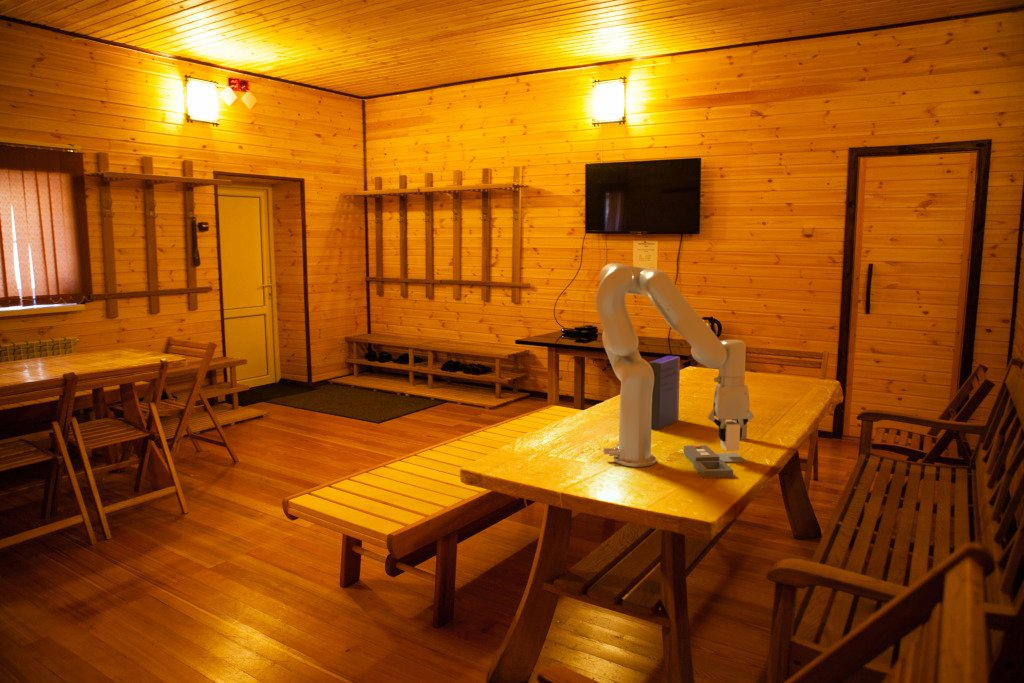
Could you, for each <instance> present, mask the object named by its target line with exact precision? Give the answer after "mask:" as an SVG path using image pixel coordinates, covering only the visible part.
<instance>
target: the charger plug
mask: <svg viewBox="0 0 1024 683" xmlns="http://www.w3.org/2000/svg"><path fill="white" fill-rule="evenodd" d="M724 428H725V430H726V432H725V442H723V441H722V440H720V447H721V448H722V450H725V452H735V451H737V452H739V451H740V446H741V445H740V444H741V441H740V424H738V423H737V422H736V421H731V420H726V421H725V425H724Z"/></svg>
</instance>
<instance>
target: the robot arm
mask: <svg viewBox="0 0 1024 683" xmlns="http://www.w3.org/2000/svg"><path fill="white" fill-rule="evenodd" d="M599 282H600V283H599V285H598V287H597V290H596V294H595V308H596V313H597V316H598V318H599V322H600V324H601V327H602V330H603V331H602V333H601V334H602V335H601V340H602V345H603V347H604V350H605V353H606V354H607V358H608V360H609V363H610V364H611V367H612V371H613V372H614V375H615V376H616V378H617V379H618V380H619V381H620V392H619V406H618V408H619V412H618V413H619V415H618V416H619V418H618V419H619V421H618V426H619V428H618V432H619V433H618V443H617V444H616V446H613V447H604V448H603V449H602V452H603V455H608V456H610V457H613V460H614V462H615V463H616V464H618V465H621V466H626V467H634V468H640V467H649V466H653V465H654V464H656V462H657V458H656V456H655V455H654V454H652V449H651V448H652V429H651V418H652V392H653V385H654V372H653V369H652V367H651V366H650V364H649V363H648V362H649V361H647V360H645V359H644V358H642V355H641V354H640V351H639V348H638V347H639V342H640V341H639V336H638V334H637V331H636V329H635V326H634V325H633V322H632V320H631V319H632V318H630V315H629V311H628V309H627V304H626V296H627V294H630V295H636V296H637V295H638V296H643V297H646V298H648V300H649V301H650V302H651V303H652V305H653V306H654V308H656V310H657V311H658V313H659V314H660V316H661V317H662V318H663V320H664V321H665V323H666V324H667V325H668V326H669V327H670V328H671V329H673V330H674V331H675V332H676V333H677V334H678V335H680V336H681V337H682V338H683V339H684V340H685V341H686V342H687V343H688V344H689V346H690V347H691V349H690V353H691V356H692V358H693V359H694V360H695V361H696V362H697V363H699V364H701V365H703V366H705V367H706V368H709V369H718V375H717V377H714V378H713V381H714V383H717V384H716V385H715V389H714V395H713V401H712V409H711V411H710V412H709V414H707V419H709V420H710V421H711V422H713V423H714V424H715V425H716V426H717V427H718V438H719V440H720V441H721V440H722V441H723V442H725V432H726V430H725V428H724V425H725V421H730V420H732V419H736V422H737V423H738V424H740V442H741V441H742V440H741V437H742V428H743V427H744V425H745V424H746V423H747V424H748V422H749V421H751V420H753V419H755V418H754V417H755V416H754V415H753V412H752V411H751V406H750V404H751V402H750V395H749V394H750V392H749V388H748V385H746V381H745V380H746V379H745V378H746V355H747V354H746V352H747V351H746V350H747V349H746V347H747V345H746V343H745V341H743V340H740V339H724V340H720V339H719V337H718V336H717V335H716V334H715V332H714V331H713V330H712V328H710V326H709V325H708V324H707V322H705V320H704V319H703V318H702V317H701V316H700V314H699V313H698V312H697V311H696V310H695V309H694V308H693V307H692V305H691V304H690V302H689V301H688V300H687V299H686V297H685V296H684V295H683V293H682V292H681V291H680V289H679V288H678V286H677V285H676V284H675V282H674V281H673V280H672V278H671V277H670V276H669V275H668V274H667V273H666V272H665V271H663V270H661V269H657V268H656V269H655V268H647V267H639V266H634V265H627V264H624V263H623V264H622V263H618V262H610V263H608V264H606V265H604V266H603V267H602V269H601V270H600V272H599Z"/></svg>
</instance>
